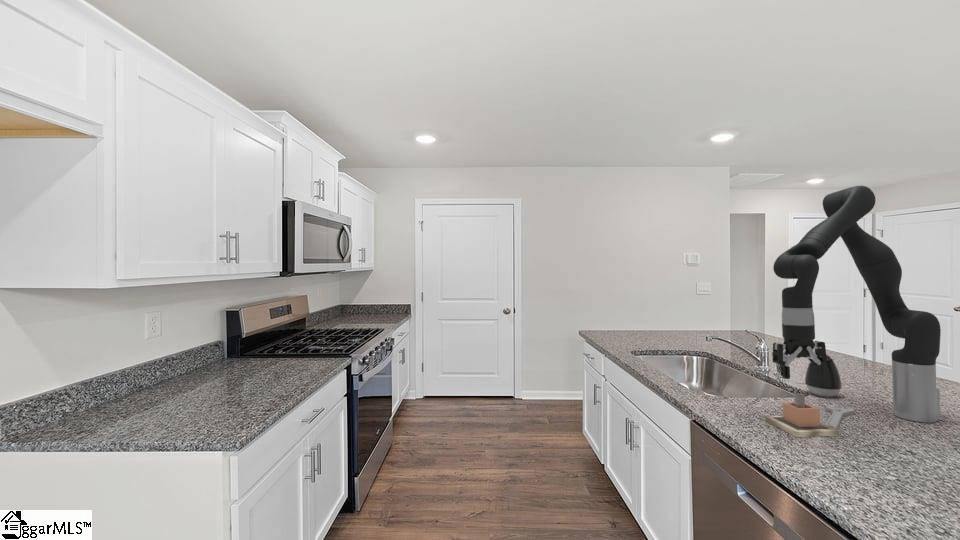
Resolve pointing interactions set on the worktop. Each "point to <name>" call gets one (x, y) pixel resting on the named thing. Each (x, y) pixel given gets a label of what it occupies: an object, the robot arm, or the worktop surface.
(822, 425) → the post plate
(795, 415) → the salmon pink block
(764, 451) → the worktop surface
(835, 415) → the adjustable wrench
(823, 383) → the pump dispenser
